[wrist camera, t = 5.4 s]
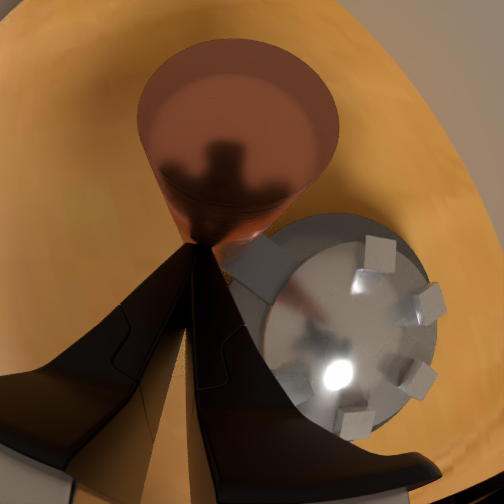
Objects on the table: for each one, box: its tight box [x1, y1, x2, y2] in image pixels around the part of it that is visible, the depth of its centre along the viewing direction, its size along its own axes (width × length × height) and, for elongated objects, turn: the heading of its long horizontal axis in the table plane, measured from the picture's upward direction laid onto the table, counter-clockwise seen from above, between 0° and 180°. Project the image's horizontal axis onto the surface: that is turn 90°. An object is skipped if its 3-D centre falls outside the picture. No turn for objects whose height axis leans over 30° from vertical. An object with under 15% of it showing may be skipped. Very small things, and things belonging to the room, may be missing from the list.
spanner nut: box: [137, 39, 447, 441], centre depth 10 cm, size 16×10×12 cm, turn 53°
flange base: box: [228, 213, 429, 442], centre depth 18 cm, size 14×21×2 cm, turn 36°
